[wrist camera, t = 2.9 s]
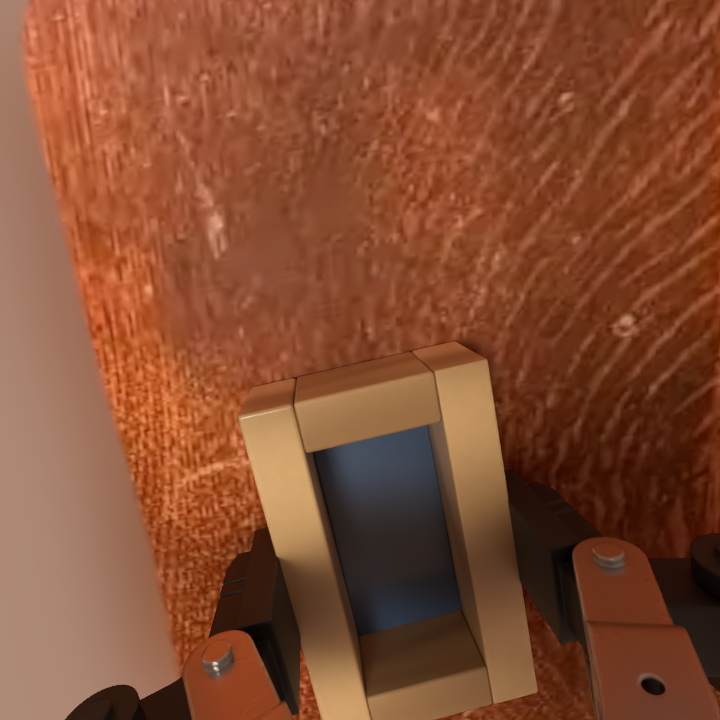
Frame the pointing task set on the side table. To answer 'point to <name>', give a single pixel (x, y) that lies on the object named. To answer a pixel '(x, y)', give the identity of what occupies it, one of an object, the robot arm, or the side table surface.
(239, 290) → the side table surface
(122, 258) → the side table surface
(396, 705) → the frame
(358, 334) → the side table surface
